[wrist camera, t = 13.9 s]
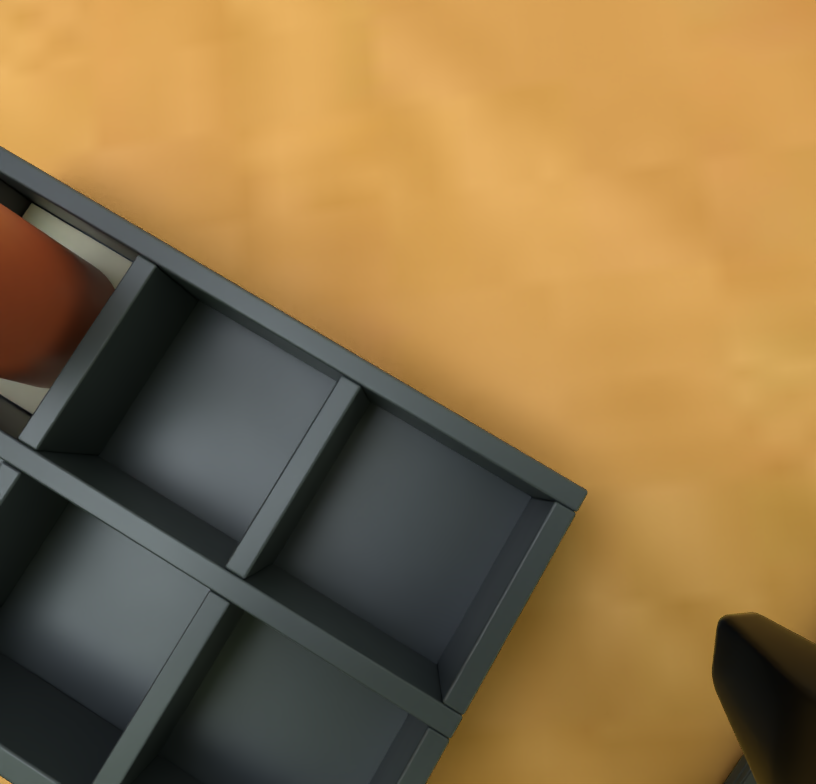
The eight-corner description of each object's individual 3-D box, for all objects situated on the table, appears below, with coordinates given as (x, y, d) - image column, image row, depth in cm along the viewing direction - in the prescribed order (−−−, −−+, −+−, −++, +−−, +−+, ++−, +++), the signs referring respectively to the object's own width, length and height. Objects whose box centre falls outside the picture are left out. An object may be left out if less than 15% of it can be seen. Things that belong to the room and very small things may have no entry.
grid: (334, 883, 20) (313, 985, 16) (-202, 535, 21) (-347, 547, 17) (556, 489, 21) (589, 490, 17) (38, 184, 22) (-44, 119, 18)
